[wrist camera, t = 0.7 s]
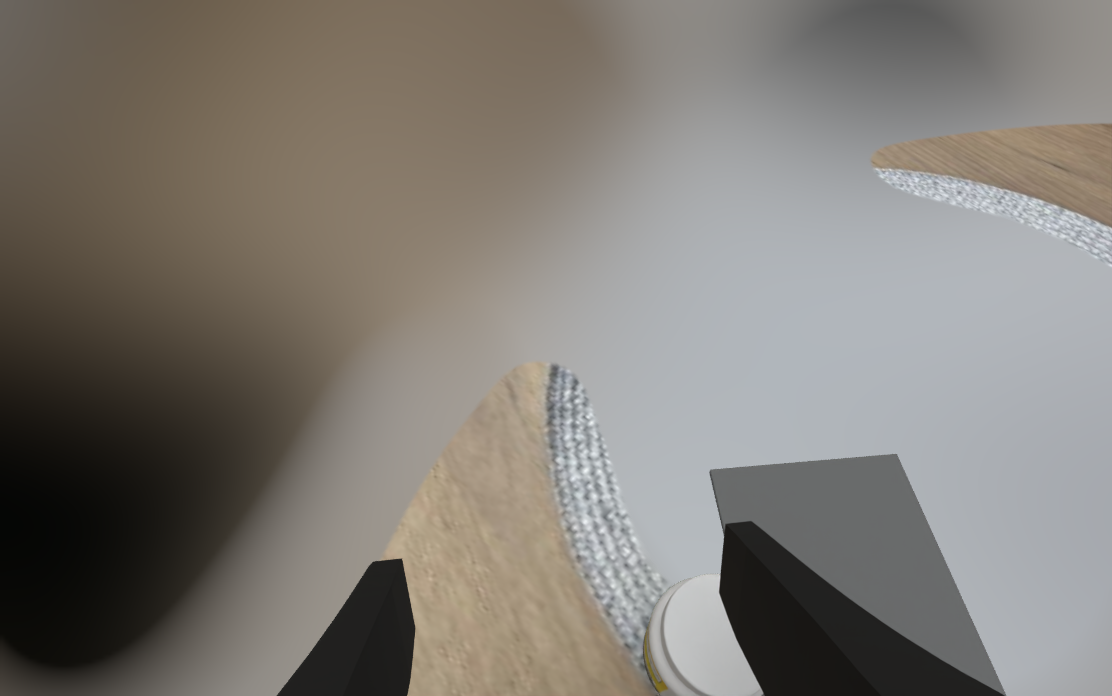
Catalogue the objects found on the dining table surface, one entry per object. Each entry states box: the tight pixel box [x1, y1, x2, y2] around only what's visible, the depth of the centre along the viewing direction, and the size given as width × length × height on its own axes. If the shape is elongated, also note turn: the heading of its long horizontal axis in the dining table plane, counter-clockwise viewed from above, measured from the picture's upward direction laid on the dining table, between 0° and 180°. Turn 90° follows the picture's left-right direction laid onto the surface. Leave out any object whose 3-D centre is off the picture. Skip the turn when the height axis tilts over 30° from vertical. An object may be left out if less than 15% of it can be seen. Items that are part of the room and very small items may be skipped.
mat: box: [710, 454, 1006, 696], centre depth 25 cm, size 18×10×1 cm, turn 3°
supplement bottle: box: [643, 574, 763, 696], centre depth 22 cm, size 5×5×8 cm
